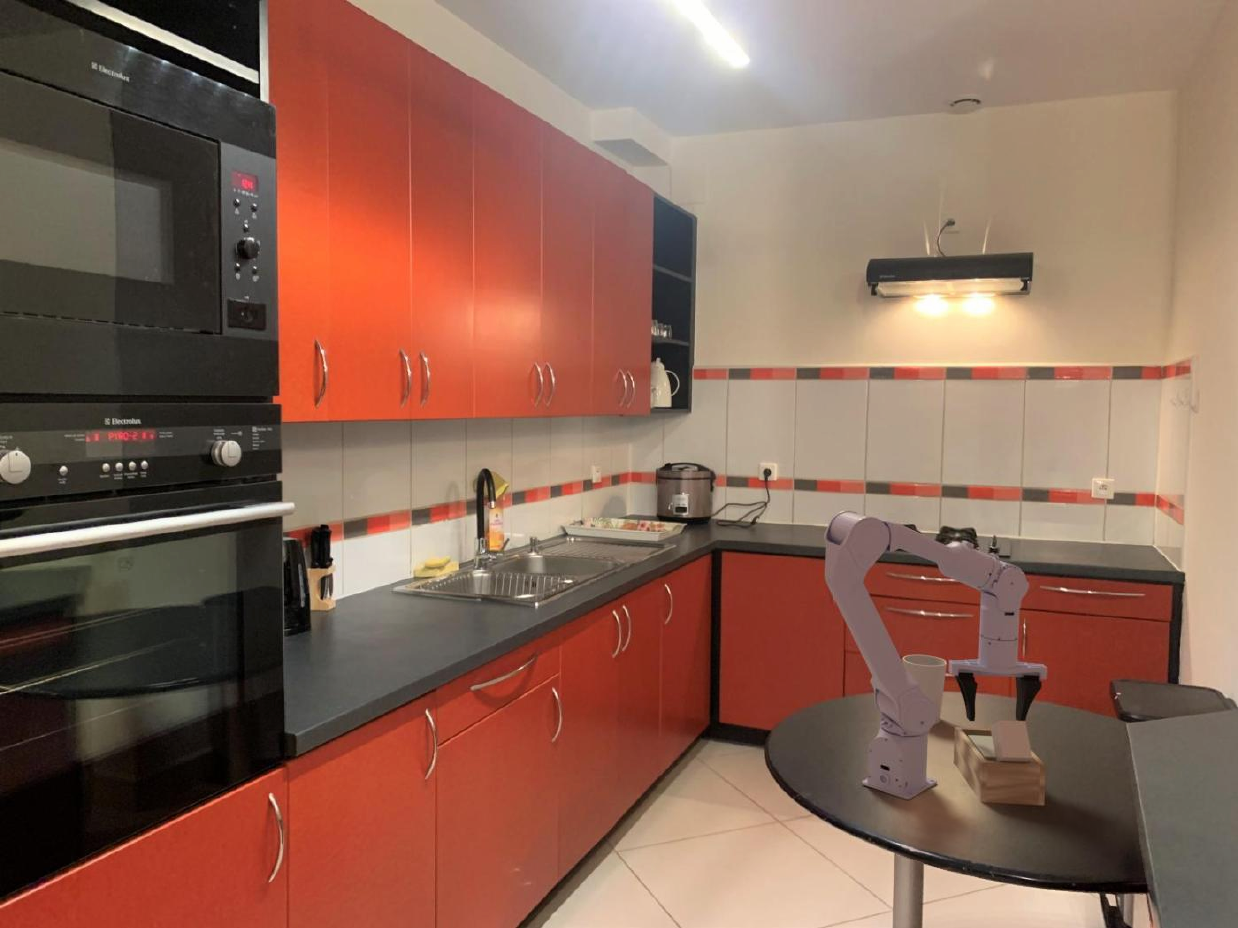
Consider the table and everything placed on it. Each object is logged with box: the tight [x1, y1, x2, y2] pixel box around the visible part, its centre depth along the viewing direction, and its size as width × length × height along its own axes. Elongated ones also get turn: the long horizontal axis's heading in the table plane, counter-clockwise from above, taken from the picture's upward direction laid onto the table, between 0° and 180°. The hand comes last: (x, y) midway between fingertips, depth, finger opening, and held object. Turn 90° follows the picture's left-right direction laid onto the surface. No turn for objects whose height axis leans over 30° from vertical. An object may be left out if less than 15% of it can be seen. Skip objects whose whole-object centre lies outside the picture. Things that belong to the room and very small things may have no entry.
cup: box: [902, 654, 948, 725], centre depth 170 cm, size 8×8×12 cm
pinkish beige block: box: [990, 719, 1032, 763], centre depth 136 cm, size 4×4×6 cm
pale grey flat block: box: [968, 735, 1031, 763], centre depth 141 cm, size 9×7×4 cm
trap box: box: [953, 726, 1047, 806], centre depth 142 cm, size 15×9×6 cm, turn 174°
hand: (995, 720), depth 143 cm, fingers open, 7 cm apart
